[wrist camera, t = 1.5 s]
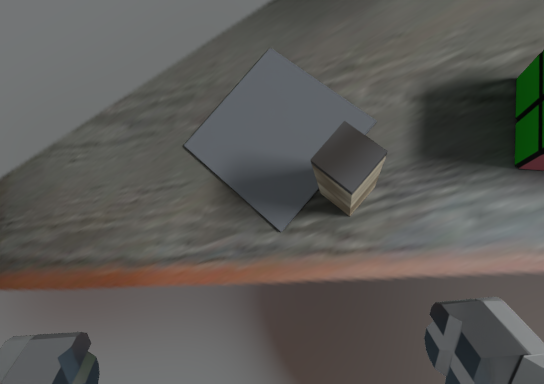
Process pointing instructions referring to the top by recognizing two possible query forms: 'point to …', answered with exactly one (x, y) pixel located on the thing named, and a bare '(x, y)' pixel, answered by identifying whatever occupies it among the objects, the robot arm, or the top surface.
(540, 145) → the puzzle cube
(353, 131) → the wooden block
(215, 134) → the mat
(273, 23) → the top surface
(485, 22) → the top surface
